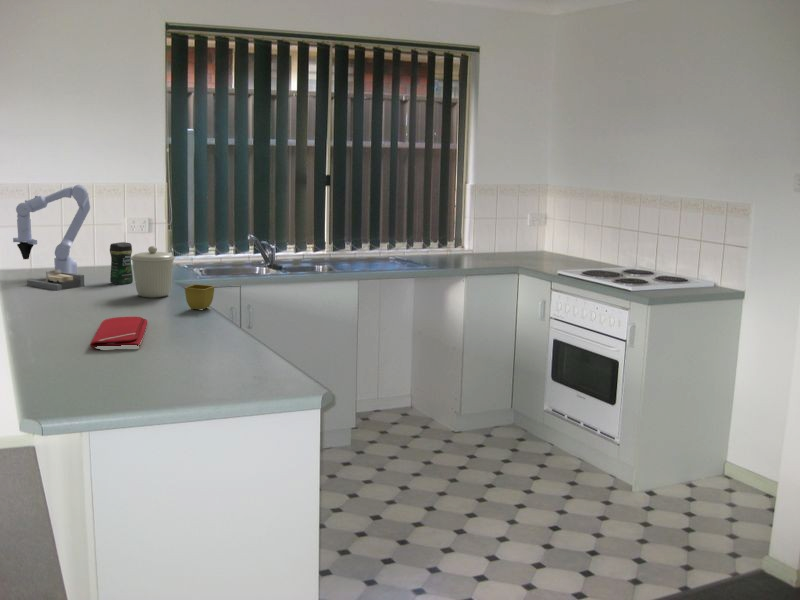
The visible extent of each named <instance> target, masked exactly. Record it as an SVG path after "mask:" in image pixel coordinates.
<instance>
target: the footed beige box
mask: <svg viewBox="0 0 800 600" xmlns="http://www.w3.org/2000/svg"><path fill="white" fill-rule="evenodd" d="M45 277H46V281H47V282H49V283H53V281H56V282H57V284H60V283H61V282H64V281H67V282H68V281H72V280H73V276H70V275H63V274H61V270H55V269H53V271H52V270H46V271H45Z"/></svg>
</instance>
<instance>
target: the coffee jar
mask: <svg viewBox="0 0 800 600" xmlns="http://www.w3.org/2000/svg"><path fill="white" fill-rule="evenodd" d="M132 247H133V246H132V243H130V242H125V241H123V242H114V243H110V245H109V253H110V259H111V260H110V263H111V264H110V277H109V278H110V279H109V282H110V283H111V284H112V285H126V284H132V283H133V282H134V278H133V275H134V274H133V265H132V260H131V259H130V257H132V254H133V248H132Z"/></svg>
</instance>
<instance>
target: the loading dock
mask: <svg viewBox="0 0 800 600" xmlns="http://www.w3.org/2000/svg"><path fill="white" fill-rule="evenodd" d="M53 270H54V269H53ZM53 270H52V269H51V271H53ZM61 274H63V275H70V276H73V280H72V281H68V282H67V281H64V282H61V283H60V284H57V282H56V281H53V283H49V282H48V281H42V280H37V279H27V280H26V286H28V287H29V286H31V287H36V288H41V289H48V290H54V291H62V290H63V291H64V290H69V289H74V288H81V287H85V275H84V274H79V273H77V274H74V273H68V272H61Z"/></svg>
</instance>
